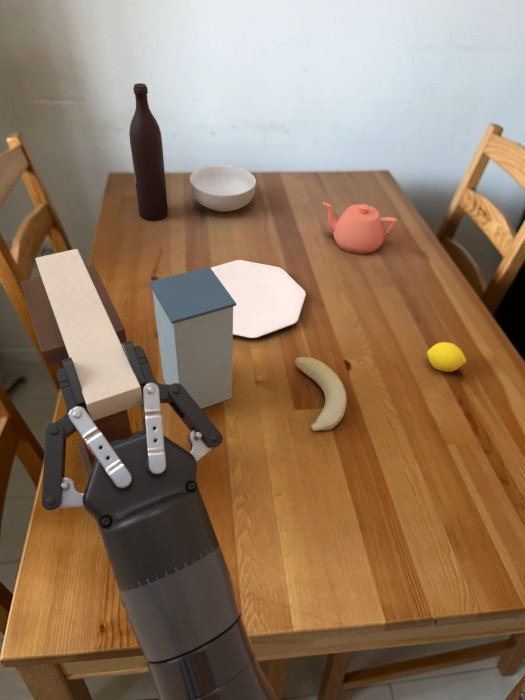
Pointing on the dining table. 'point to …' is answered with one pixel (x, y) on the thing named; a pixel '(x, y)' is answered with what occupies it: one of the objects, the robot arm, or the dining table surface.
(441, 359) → the lemon
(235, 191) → the cereal bowl
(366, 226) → the teapot
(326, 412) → the fruit
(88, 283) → the slat
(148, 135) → the wine bottle
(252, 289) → the plate
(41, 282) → the stand
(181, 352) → the container
